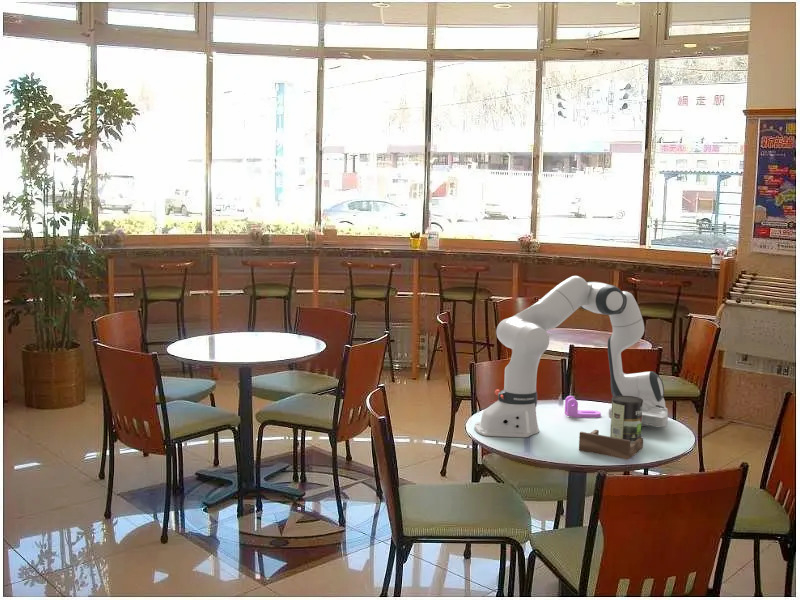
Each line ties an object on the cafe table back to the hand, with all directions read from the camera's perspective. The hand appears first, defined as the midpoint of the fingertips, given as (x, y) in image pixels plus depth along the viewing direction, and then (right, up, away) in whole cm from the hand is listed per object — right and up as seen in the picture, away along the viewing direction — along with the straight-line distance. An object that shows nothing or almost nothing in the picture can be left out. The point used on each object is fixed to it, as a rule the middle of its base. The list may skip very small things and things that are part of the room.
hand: (631, 420), depth 289 cm
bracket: (-11, -2, +25) cm, 28 cm away
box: (-11, -7, -16) cm, 21 cm away
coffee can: (-4, -6, -5) cm, 8 cm away
